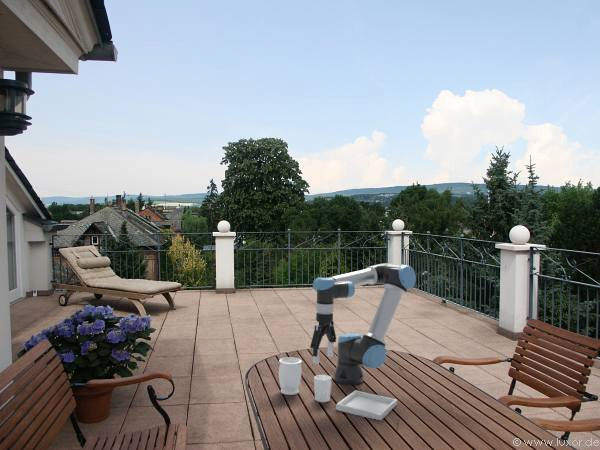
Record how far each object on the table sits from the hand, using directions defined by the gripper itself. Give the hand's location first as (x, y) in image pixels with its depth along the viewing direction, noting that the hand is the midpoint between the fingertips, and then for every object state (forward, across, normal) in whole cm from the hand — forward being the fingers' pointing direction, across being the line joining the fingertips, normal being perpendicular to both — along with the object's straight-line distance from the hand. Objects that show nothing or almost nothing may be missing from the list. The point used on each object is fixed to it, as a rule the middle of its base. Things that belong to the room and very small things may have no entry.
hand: (323, 359), depth 213 cm
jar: (+18, +1, -17) cm, 25 cm away
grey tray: (+18, -3, +20) cm, 27 cm away
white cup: (+18, 0, 0) cm, 18 cm away
